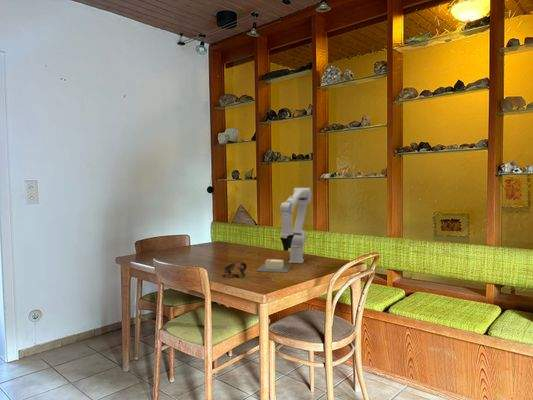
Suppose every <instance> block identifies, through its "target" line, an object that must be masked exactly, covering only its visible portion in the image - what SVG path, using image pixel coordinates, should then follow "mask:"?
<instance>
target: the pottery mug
mask: <svg viewBox="0 0 533 400" xmlns="http://www.w3.org/2000/svg"><path fill="white" fill-rule="evenodd" d="M246 263H247V262H246ZM246 263H245V262H240V263H239V262H238V261H236V260H235V261H234V262H231V263H230V264H229V265H227V266H225V267H223V269H224V273H225V274H228V275H229V274H230V275H232V271H234V270H235V268H236V269H238V270H239V273H237V276H238V278H239V279H241V278H243V277H245V272H246V270H247V268H248V267H247V266H248V265H247V264H246Z"/></svg>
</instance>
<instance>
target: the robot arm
mask: <svg viewBox="0 0 533 400" xmlns="http://www.w3.org/2000/svg"><path fill="white" fill-rule="evenodd" d="M292 193H293V194H292V195H289V196H288V198H287V199H286V200H285V201H284V202H282V203H280V206H279V211H280V216H281V231H280V232H279V234H280V235H282V237H280V239H279V240H280V241H281V243H282V244H281V245H282V247H283V251H284V252H288V251H289V255H290V256H289V260H288V263H289V264H291V263H293V264H303V263H304V261H305V258H303V257H304V250H303V249H304V247H305V245H306V243H307V234H306V232H305V231H304V230H303V229H304V223H305V219H306V214H307V207H308V204H311V201H312V195H313V194H312V193H313V192H312V189H311V187H294V188H293V191H292ZM297 205H298V206H297ZM296 206H297V207H298V208H297V213H296V217H295V223H294V222H293V214H294V212H295V208H296ZM293 223H294V225H293ZM293 226H294V227H293Z"/></svg>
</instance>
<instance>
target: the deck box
mask: <svg viewBox="0 0 533 400" xmlns="http://www.w3.org/2000/svg"><path fill="white" fill-rule="evenodd" d="M284 262H285V261H284V259H275V258H274V259H269V258H267V259H265V260H264V264H265V269H283V268H284V265H285V263H284Z"/></svg>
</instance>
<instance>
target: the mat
mask: <svg viewBox="0 0 533 400" xmlns="http://www.w3.org/2000/svg"><path fill="white" fill-rule="evenodd" d="M292 267H293V266H292V265H290V264H284V268H283V269H265V263H262V264H261V266H259V267H258V268H257V269H256V270H255V272H262V273H263V272H264V273H281V274H286V273H288V271H290V269H291V268H292Z"/></svg>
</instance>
